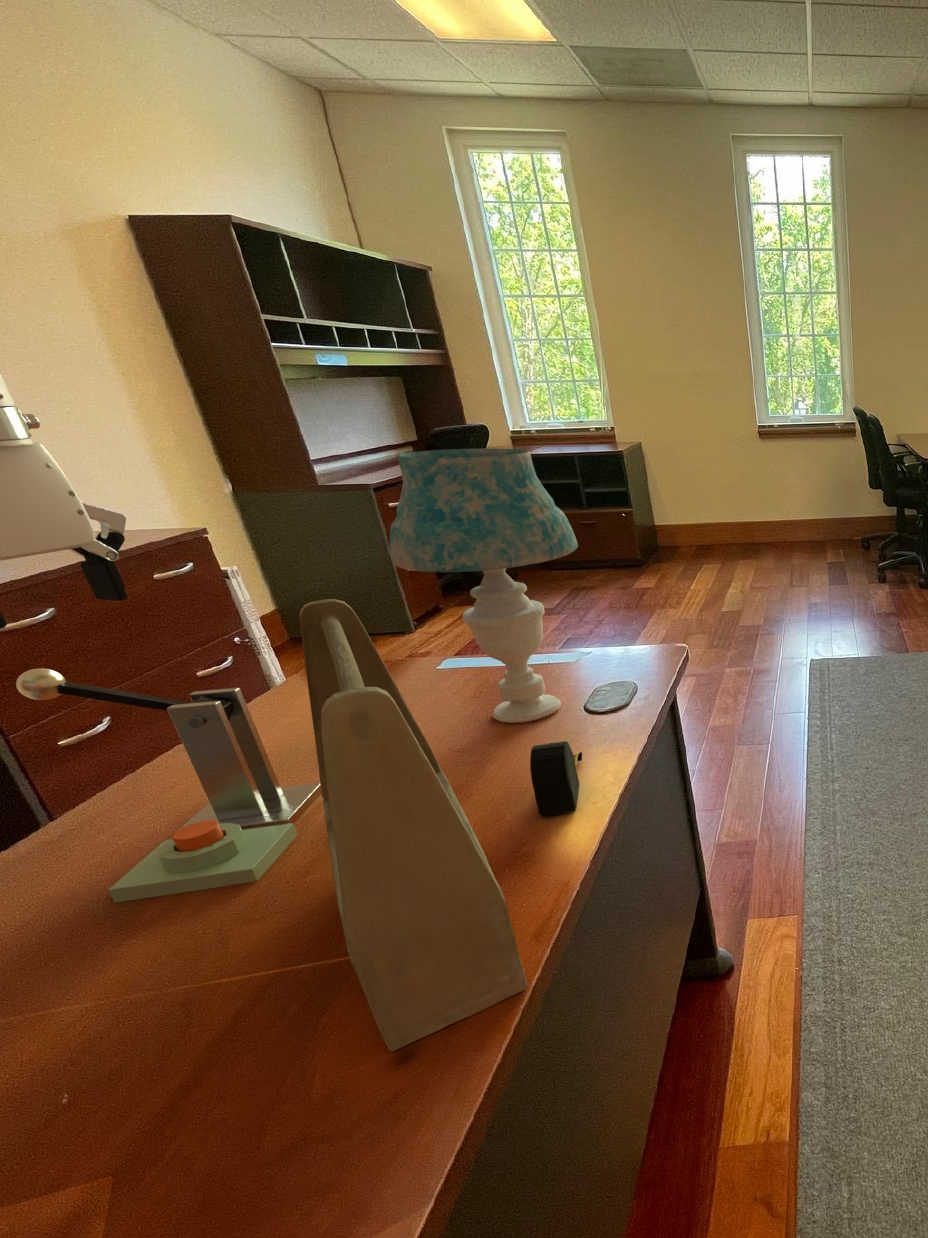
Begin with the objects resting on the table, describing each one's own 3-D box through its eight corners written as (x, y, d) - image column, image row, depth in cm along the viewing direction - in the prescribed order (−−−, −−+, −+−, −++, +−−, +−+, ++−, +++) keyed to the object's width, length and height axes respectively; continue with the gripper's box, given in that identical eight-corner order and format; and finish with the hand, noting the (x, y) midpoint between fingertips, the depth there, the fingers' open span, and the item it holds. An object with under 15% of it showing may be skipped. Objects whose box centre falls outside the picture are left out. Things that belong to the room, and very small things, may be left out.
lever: (6, 701, 74) (6, 671, 74) (32, 689, 77) (32, 660, 77) (216, 733, 81) (218, 707, 80) (233, 721, 84) (235, 695, 83)
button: (170, 855, 75) (163, 841, 74) (191, 836, 78) (184, 823, 77) (212, 849, 76) (206, 836, 75) (231, 831, 79) (225, 817, 78)
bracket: (176, 843, 82) (115, 719, 76) (221, 803, 90) (169, 688, 83) (291, 827, 85) (241, 707, 79) (324, 790, 93) (282, 678, 86)
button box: (114, 903, 72) (99, 875, 71) (171, 852, 80) (157, 826, 79) (257, 881, 76) (245, 854, 74) (298, 835, 84) (287, 809, 82)
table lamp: (456, 695, 121) (386, 448, 105) (607, 676, 130) (563, 444, 114) (426, 757, 101) (335, 463, 85) (607, 729, 110) (555, 457, 94)
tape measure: (576, 814, 88) (564, 757, 85) (537, 820, 87) (523, 763, 83) (583, 761, 101) (573, 709, 97) (549, 766, 99) (537, 714, 96)
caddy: (533, 989, 63) (444, 672, 51) (386, 1057, 56) (244, 713, 44) (464, 841, 83) (388, 590, 71) (350, 879, 76) (245, 609, 64)
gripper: (49, 424, 72) (125, 588, 79) (-226, 435, 57) (-102, 639, 63) (111, 425, 71) (182, 591, 78) (-152, 436, 56) (-34, 643, 62)
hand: (55, 612), depth 71 cm, fingers open, 9 cm apart
